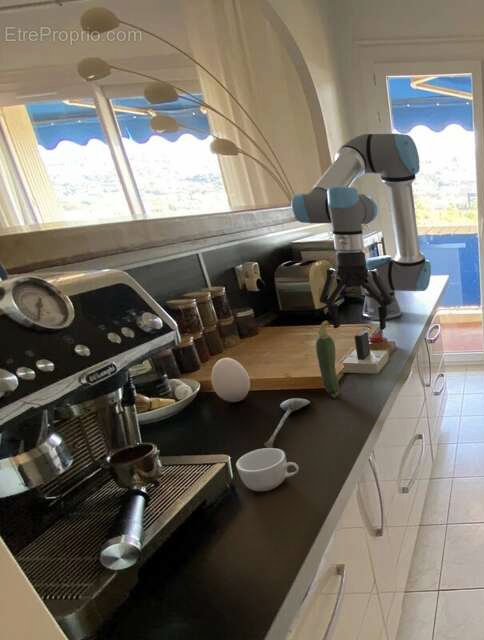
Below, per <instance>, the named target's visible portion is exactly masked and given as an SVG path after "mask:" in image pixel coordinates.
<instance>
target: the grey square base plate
mask: <svg viewBox="0 0 484 640" xmlns="http://www.w3.org/2000/svg"><path fill="white" fill-rule="evenodd" d="M353 350H354V351H353V352H352V353H351V354H350V355H348V354H347V355H348V357H347V358H346V359H345V360H344V361H343V362H342V363H343V365H344V369H342V370H341V371H340V370H339V371H340V373H349V374H353V373H355V374H379V373H380V371H382V369H383V368H384V367H385V366H386V364H387V363H388V362H389V361H390V358H389V357H390V356H388V351H374V350H370V354H369V355H368V356H367V357H366V358H365V359H364V360H358V358H357V351H356V349H353Z"/></svg>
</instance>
